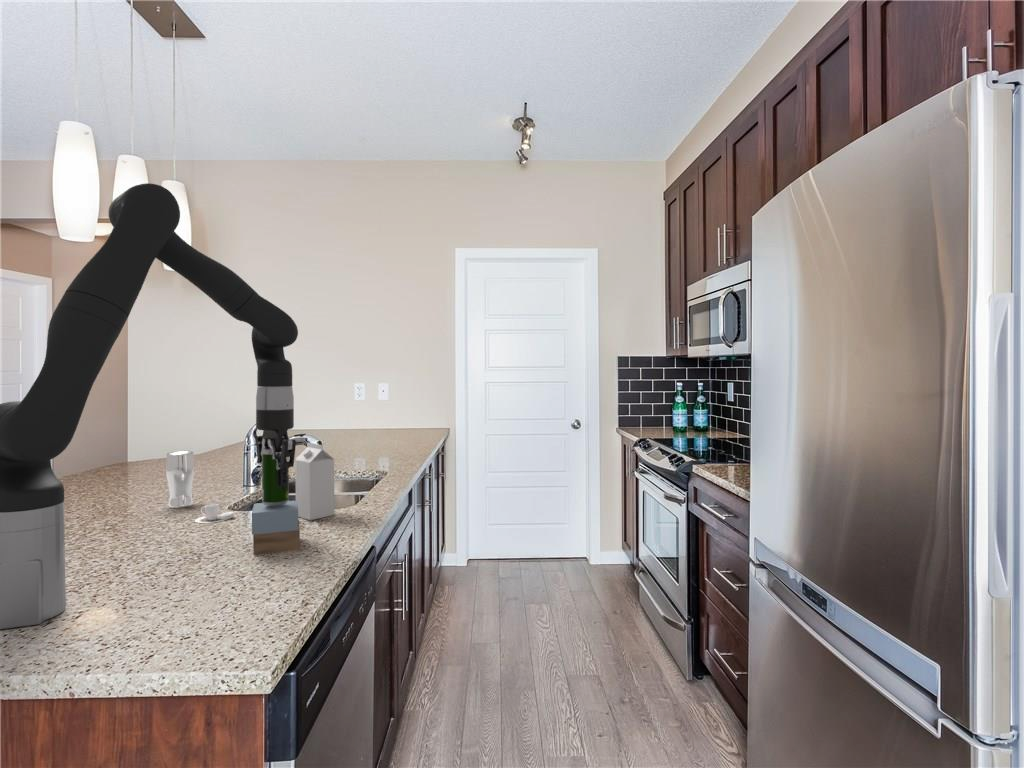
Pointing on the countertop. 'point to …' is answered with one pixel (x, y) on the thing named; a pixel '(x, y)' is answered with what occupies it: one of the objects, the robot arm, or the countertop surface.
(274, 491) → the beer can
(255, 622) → the countertop surface
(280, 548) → the walnut block
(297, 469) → the milk carton
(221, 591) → the countertop surface
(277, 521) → the slate-blue block
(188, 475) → the beer glass
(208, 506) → the teacup and saucer
